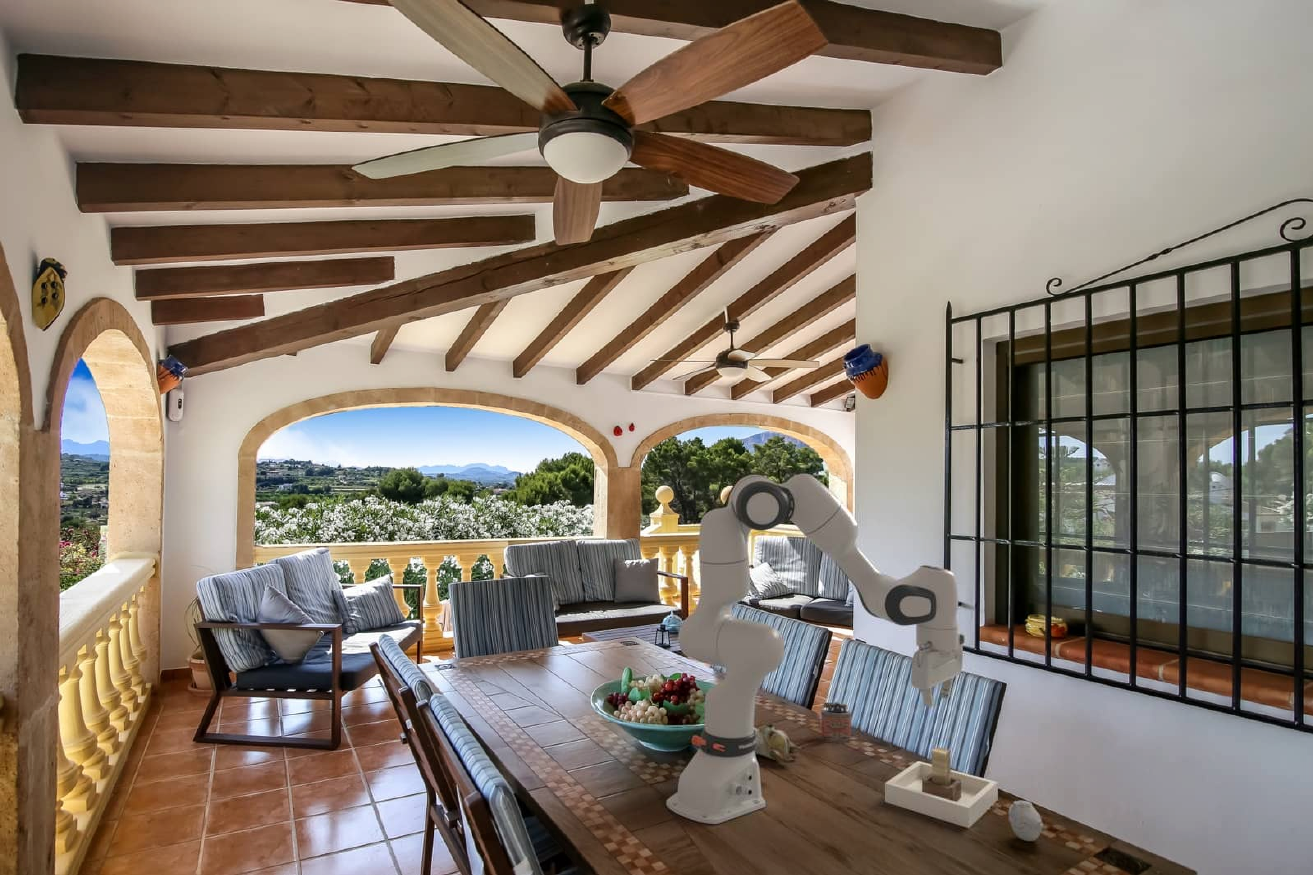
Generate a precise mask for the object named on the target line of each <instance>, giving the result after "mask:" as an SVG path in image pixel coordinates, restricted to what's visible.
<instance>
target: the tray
mask: <svg viewBox="0 0 1313 875" xmlns="http://www.w3.org/2000/svg"><path fill="white" fill-rule="evenodd" d="M998 785H999V784H998V782H997V781H995V780H990V779H988V778H984V777H980V776H977V775H972V774H968V773H965V772H961V771H957V770H953V769H951V785H950V786H949V787H947V786H944V785H940V784H937V783H933V782H932V763H927V762H923V761H919V760H917V761H916V762H914V763H912V764H911V765H910V766H909V767H907V768H906V769H904V770H902V771H901V772H899V773H898V774H897V775H895V776H893V777H892V778H890V779H889V780H887V781H886V782H885V783H884V802H885V803H888V804H890V805H893V806H897V807H901V808H903V809H906V810H910V811H913V812H916V813H919V814H922V815H924V816H925V815H926V816H929V817H932V818H936V819H937V820H941V821H945V822H947V823H951V824H954V825H957V826H961V827H964V828H966V829H970V828H971V827H972V826H973V825H975V823H977V821H978V820H979V819H981V817H983V815H985V814H986V813H987V812H988V811H989V810H990V809H991V808H992V807H993V806H994V805H995V804H996V803H997V802H998V801H999V798H998V797H999V795H998V793H999V791H998V790H999V789H998ZM996 801H997V802H996ZM995 802H996V803H995ZM994 803H995V804H994ZM991 806H992V807H991ZM990 807H991V808H990ZM987 810H988V811H987Z"/></svg>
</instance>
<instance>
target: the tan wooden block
mask: <svg viewBox="0 0 1313 875" xmlns="http://www.w3.org/2000/svg"><path fill="white" fill-rule="evenodd" d="M951 755H952V754H951V749H946V748H944V747H943V748H942V747H938V746H937V747H935V748H934V749H932V750H931V764H932V782H933V783H937V784H940V785H944V786H947V787H949V786H950V785H951V770H952V769H951Z"/></svg>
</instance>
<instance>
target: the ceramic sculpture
mask: <svg viewBox="0 0 1313 875" xmlns="http://www.w3.org/2000/svg"><path fill="white" fill-rule="evenodd" d="M754 730H755V731H756V749H755V750H754V751H755V756H756V755H761V756H763V757H766V758H768V759H769V760H770V759H771V760H772V761H773V760H774V761H776V762H777V763H780V764H790V763H795V762H797V761H796V759H794V758H793V757H792V756H791V754H797V753H801V752H805V751H806V749H807V748H806V747H804V746H803V747H801V746H800V747H799V746H798V745H796V744H794V743H793V741H790V737H789V736H788V734H787V733H786V731H784V730H782V729H779V728H775V726H774V724H771V723H770V724H769V723H768V724H767V725H763V726H762V727H761V728H760V729H758V728H756V727H755V726H754Z"/></svg>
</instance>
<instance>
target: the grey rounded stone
mask: <svg viewBox="0 0 1313 875" xmlns="http://www.w3.org/2000/svg"><path fill="white" fill-rule="evenodd" d="M1008 821H1009V823H1010V826H1011V829H1012V830H1013V832H1014V834H1015V835H1016V836H1017V837H1018V838H1019V839H1020V840H1022V841H1024V842H1025V841H1026V842H1034V841H1035V840H1037V839H1039V836H1040V835H1041V833H1042V832H1043V828H1044V824H1043V821H1042V819H1041V815H1040V813H1039V812H1038V811H1037V810H1036V808H1035V807H1034V806H1033V803H1032V802H1030V801H1027V800H1016V801H1013V803H1012V804H1011V805H1010V807H1009V809H1008Z"/></svg>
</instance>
